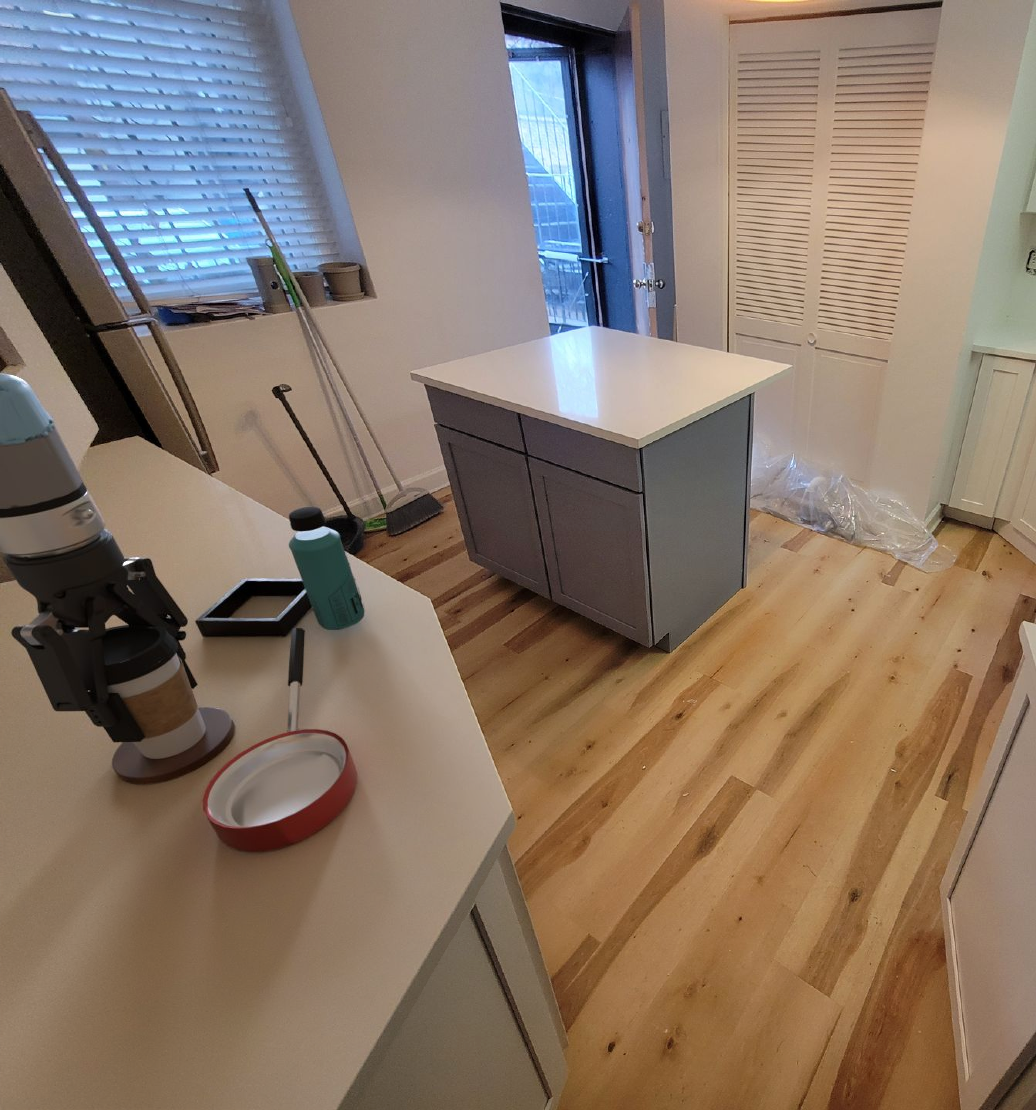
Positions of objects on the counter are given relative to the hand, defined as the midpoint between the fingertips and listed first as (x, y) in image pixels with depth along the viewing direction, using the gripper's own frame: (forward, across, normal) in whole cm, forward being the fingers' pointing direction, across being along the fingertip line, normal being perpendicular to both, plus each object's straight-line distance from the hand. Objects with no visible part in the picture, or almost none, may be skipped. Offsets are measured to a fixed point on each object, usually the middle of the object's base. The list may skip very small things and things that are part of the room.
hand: (157, 711), depth 70 cm
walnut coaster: (+6, 0, 0) cm, 6 cm away
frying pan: (+6, 0, -13) cm, 14 cm away
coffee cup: (+5, 0, 0) cm, 5 cm away
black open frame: (+6, +27, +5) cm, 28 cm away
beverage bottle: (+6, +24, -8) cm, 26 cm away
